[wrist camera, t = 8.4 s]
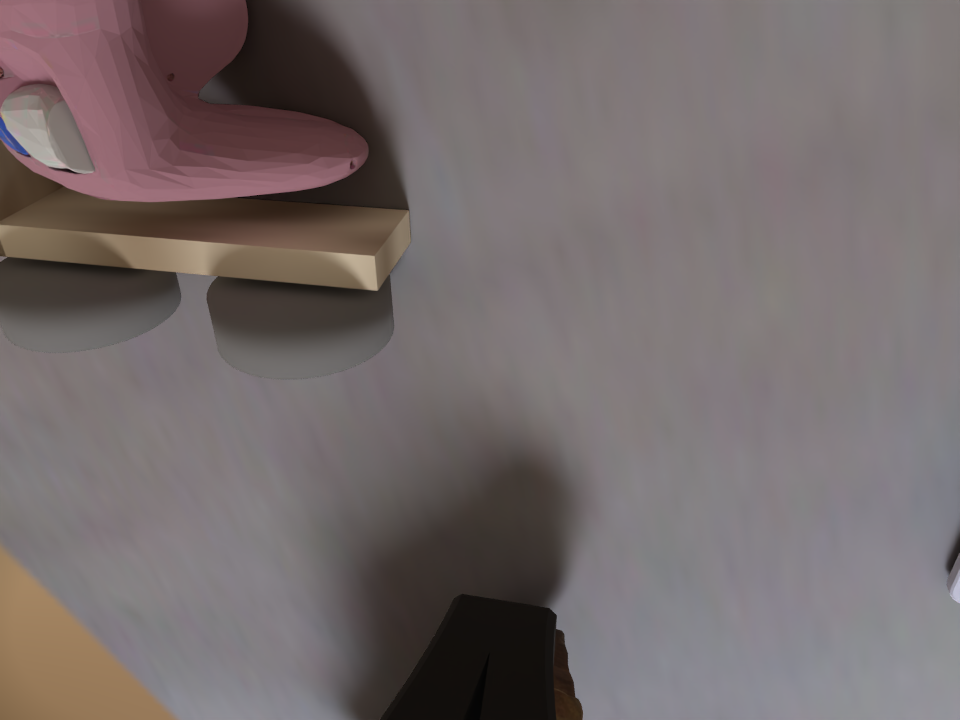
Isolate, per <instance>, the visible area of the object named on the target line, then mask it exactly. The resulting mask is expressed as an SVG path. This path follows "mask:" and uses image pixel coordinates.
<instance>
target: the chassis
mask: <svg viewBox="0 0 960 720" xmlns="http://www.w3.org/2000/svg"><path fill="white" fill-rule="evenodd" d="M410 243H411V236H410V220H409V210H397V209H383V208H369V207H355V206H341V205H328V204H314V203H300V202H286V201H272V200H258V199H244V198H223V199H206V200H186V201H166V202H136V201H118V200H104V199H99V198H96V197H93V196H90V195H87V194H83V193H80V192H77V191H75V190H72V189H69V188H66V187H65V186H63V185H62V184H60V183H58V182H55V181H53V180H51V179H49V178H46V177H44V176H42V175H40V174H38V173H35V172H33V171H32V170H31V169H29V168H28V167H27V166H25V165H24V164H23V163H21V162H20V161H19V160H18V159H17V158H16V157H15V156H14V155H13V154H12V153H11V152H10V151H9V150H8V149H7V148H6V146H5V145H4V144H3V142H2V141H1V140H0V256H5V257H7V258H6V259H4V260H3V261H1V262H0V325H1V327H2V330H3V332H4V334H5V337H6V338H7V339H8V340H9V341H10V342H11V343H13V344H14V345H16V346H18V347H21V348H23V349H27V350H31V351H37V352H46V353H67V352H79V351H86V350H92V349H97V348H102V347H106V346H110V345H114V344H117V343H120V342H123V341H126V340H129V339H131V338H134V337H137V336H139V335H141V334H143V333H145V332H147V331H149V330H151V329H153V328H155V327H156V326H158V325H159V324H161V323H162V322H164V321H165V320H166V319H167V318H169V317H170V316H171V315H172V314H173V313H174V312H175V310H176V309H177V307H178V306H179V304H180V301H181V292H180V288H179V283H178V279H177V275H176V272H179V273H190V274H201V275H212V276H218V277H217V278H216V279H215V280H214V281H213V282H212V284H211V285H210V287H209V289H208V292H207V303H208V307H209V311H210V316H211V320H212V325H213V329H214V333H215V338H216V342H217V347H218V351H219V353H220V355H221V357H222V358H223V359H224V360H225V362H227V363H228V364H229V365H230V366H232V367H233V368H235V369H237V370H239V371H241V372H244V373H247V374H250V375H253V376H257V377H263V378H269V379H281V380H295V379H308V378H315V377H321V376H326V375H330V374H334V373H337V372H341V371H344V370H347V369H349V368H352V367H355V366H357V365H359V364H361V363H363V362H365V361H366V360H368V359H370V358H371V357H373V356H374V355H376V354H377V353H378V352H380V351H381V350H382V349H383V348H384V347H385V346H386V344H387V343H388V342H389V340H390V339H391V336H392V334H393V330H394V320H393V307H392V295H391V283H390V275H389V273H390V272H391V271H392V269H393V268H394V266H395V265H396V263H397V262H398V260H399V259H400V257H401V256H402V255H403V253H404V252H405V250H406V249H407V247H408V246H409V244H410Z"/></svg>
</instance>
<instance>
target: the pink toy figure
mask: <svg viewBox="0 0 960 720" xmlns="http://www.w3.org/2000/svg"><path fill="white" fill-rule="evenodd" d="M247 28H248V12H247V5H246V0H0V140H1V141H2V142H3V144H4V145H5V146H6V148H7V149H8V150H9V151H10V152H11V153H12V154H13V155H14V156H15V157H16V158H17V159H18V160H19V161H20V162H21V163H23V164H24V165H25V166H27V167H28V168H29V169H31V170H32V171H33V172H35V173H38V174H40V175H42V176H44V177H46V178H49V179H51V180H53V181H55V182H58V183H60V184H62V185H63V186H65V187H66V188H69V189H72V190H75V191H77V192H80V193H83V194H87V195H90V196H93V197H96V198H99V199H104V200H118V201H136V202H166V201H186V200H206V199H223V198H233V197H243V196H253V195H263V194H272V193H282V192H292V191H300V190H306V189H312V188H316V187H321V186H325V185H328V184H331V183H333V182H336V181H338V180H341V179H343V178H346V177H348V176H349V175H351V174H352V173H354V172H355V171H356V170H358V169H359V168H360V167H361V166H362V165H363V164H364V163H365V161H366V159H367V158H368V152H369V148H368V144H367V143H366V141H365V139H364V138H363V137H362V136H360V135H359V134H358V133H357V132H355V131H354V130H353V129H352V128H348V127H345V126H343V125H341V124H338V123H336V122H334V121H332V120H329V119H325V118H321V117H317V116H313V115H309V114H305V113H301V112H295V111H288V110H280V109H273V108H265V107H258V106H250V105H229V104H209V103H207V102H205V101H203V100H201V99H199V98H198V96H199V91H200V90H201V89H202V88H203V87H204V86H205V84H206V83H207V82H208V81H209V80H210V79H211V78H212V77H213V76H215V75H216V74H217V73H218V72H219V71H221V70H222V69H223V68H224V67H225V66H226V65H228V64H229V63H230V62H231V61H232V60H233V59H234V58H235V57H236V55H237V54H238V53H239V51H240V50H241V48H242V46H243V44H244V42H245V38H246V34H247Z"/></svg>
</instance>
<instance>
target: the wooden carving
mask: <svg viewBox="0 0 960 720" xmlns="http://www.w3.org/2000/svg"><path fill="white" fill-rule="evenodd" d="M553 675H554V694H555V709H556V720H582V718H583V710H582V706H581V703H580V701H579V700H578V699H577V698H575V691H574V682H573V679H572V677H571V674H570V672H569V668H568V653H567V650H566V647H565V641H564V633H563V632H562V631H561V630H557V629H556V635H555V651H554V666H553Z"/></svg>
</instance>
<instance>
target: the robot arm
mask: <svg viewBox="0 0 960 720" xmlns="http://www.w3.org/2000/svg"><path fill="white" fill-rule="evenodd" d="M947 587H948V590H949V593H950V595H951V597H952V599H954V600H955V601H956V602H958V603H960V553H959V555H958V557H957V559H956V562H955V564H954V566H953V568H952V570H951V573H950V575H949V577H948V579H947ZM556 619H557V615H556V614H555V613H554V612H553V611H552V610H550V609H549V608H545V607H539V606H532V605H526V604H520V603H514V602H508V601H501V600H495V599H489V598H483V597H477V596H470V595H464V594H461V595H459V596H458V597H456V598H454V600H453V602H452V604H451V606H450V608H449V610H448V612H447V614H446V616H445V618H444V620H443V621H442V623H441V625H440V627H439V629H438V630H437V632H436V634H435V636H434V637H433V639H432V641H431V643H430V644H429V646H428V648H427V649H426V651H425V653H424V654H423V656H422V658H421V659H420V661H419V662H418V664H417V666H416V667H415V669H414V670H413V672H412V673H411V675H410V677H409V678H408V680H407V681H406V683H405V684H404V686H403V687H402V689H401V690H400V692H399V693H398V695H397V696H396V698H395V699H394V700H393V702H392V703H391V705H390V706H389V708H388V709H387V711H386V712H385V714H384V715H383V717H382V718H381V719H380V720H556V709H555V694H554V675H553V666H554V651H555V635H556Z"/></svg>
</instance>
